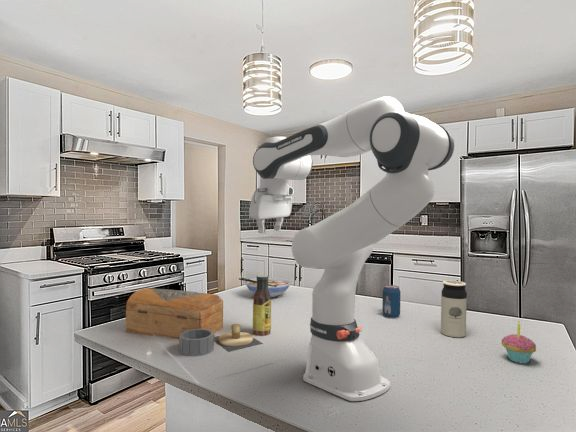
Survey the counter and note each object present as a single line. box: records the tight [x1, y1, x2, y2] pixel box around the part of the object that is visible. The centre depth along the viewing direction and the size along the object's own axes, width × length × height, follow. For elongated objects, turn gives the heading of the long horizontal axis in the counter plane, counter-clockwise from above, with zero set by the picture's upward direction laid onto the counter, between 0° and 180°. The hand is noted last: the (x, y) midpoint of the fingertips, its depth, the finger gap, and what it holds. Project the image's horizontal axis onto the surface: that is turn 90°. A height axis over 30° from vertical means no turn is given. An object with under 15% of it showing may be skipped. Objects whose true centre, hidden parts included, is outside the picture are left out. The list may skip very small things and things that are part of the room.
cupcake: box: [500, 322, 537, 364], centre depth 107 cm, size 9×8×12 cm
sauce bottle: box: [252, 274, 272, 337], centre depth 128 cm, size 6×6×20 cm
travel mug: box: [440, 280, 468, 339], centre depth 129 cm, size 8×8×18 cm
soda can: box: [381, 284, 401, 319], centre depth 150 cm, size 7×7×12 cm
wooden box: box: [125, 287, 224, 339], centre depth 131 cm, size 30×16×14 cm, turn 70°
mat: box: [214, 330, 264, 353], centre depth 120 cm, size 14×12×1 cm
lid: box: [218, 323, 254, 347], centre depth 120 cm, size 11×11×5 cm
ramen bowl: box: [238, 276, 292, 299], centre depth 181 cm, size 25×23×8 cm
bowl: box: [178, 329, 215, 357], centre depth 112 cm, size 10×10×5 cm
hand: (269, 231), depth 120 cm, fingers open, 8 cm apart
